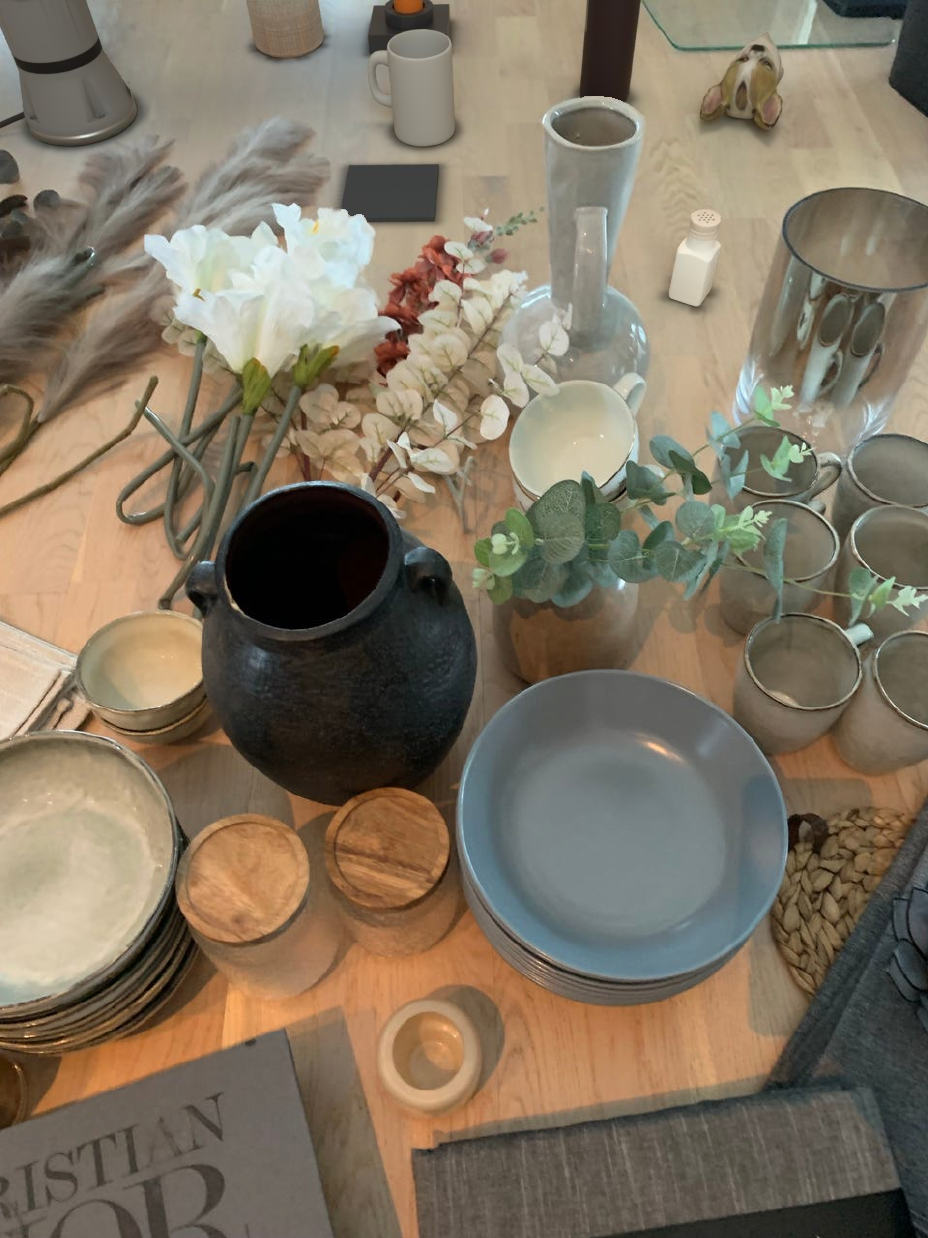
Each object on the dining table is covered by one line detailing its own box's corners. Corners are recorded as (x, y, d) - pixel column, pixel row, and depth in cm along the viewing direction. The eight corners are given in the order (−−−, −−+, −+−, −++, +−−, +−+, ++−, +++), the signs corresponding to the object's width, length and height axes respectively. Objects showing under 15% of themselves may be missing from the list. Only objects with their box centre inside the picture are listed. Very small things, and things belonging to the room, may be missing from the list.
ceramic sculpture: (809, 23, 115) (786, 84, 108) (792, 90, 122) (769, 150, 116) (730, 13, 117) (703, 71, 111) (718, 79, 125) (691, 137, 118)
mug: (463, 119, 121) (461, 32, 112) (443, 151, 117) (438, 63, 108) (385, 107, 124) (376, 21, 114) (362, 137, 119) (351, 50, 110)
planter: (261, 27, 138) (247, -44, 130) (328, 26, 138) (318, -45, 130) (249, 60, 132) (234, -12, 124) (319, 59, 132) (308, -13, 124)
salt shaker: (665, 299, 98) (680, 221, 90) (679, 280, 100) (695, 202, 92) (698, 309, 97) (716, 232, 89) (712, 290, 99) (731, 212, 91)
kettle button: (393, 15, 130) (392, -1, 129) (395, 2, 133) (394, -14, 131) (422, 14, 130) (421, -1, 128) (423, 1, 133) (422, -14, 131)
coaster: (339, 221, 108) (339, 217, 108) (349, 169, 115) (348, 164, 114) (434, 220, 108) (434, 216, 108) (438, 168, 115) (438, 163, 114)
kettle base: (370, 54, 132) (366, 21, 129) (375, 24, 138) (372, -9, 134) (447, 52, 132) (446, 19, 128) (450, 22, 137) (448, -10, 134)
